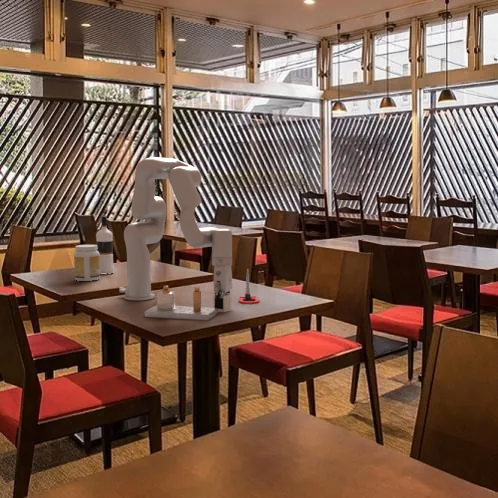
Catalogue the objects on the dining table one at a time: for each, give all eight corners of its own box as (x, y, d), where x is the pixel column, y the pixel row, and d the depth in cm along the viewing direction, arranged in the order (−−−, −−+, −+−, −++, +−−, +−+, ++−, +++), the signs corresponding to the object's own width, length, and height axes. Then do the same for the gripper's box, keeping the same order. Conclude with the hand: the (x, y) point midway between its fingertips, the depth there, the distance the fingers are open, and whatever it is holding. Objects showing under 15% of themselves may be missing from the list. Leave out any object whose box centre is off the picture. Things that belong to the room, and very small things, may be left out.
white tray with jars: (144, 316, 229) (144, 288, 227) (157, 309, 240) (156, 282, 239) (208, 320, 223) (207, 291, 222) (217, 313, 235) (217, 285, 233)
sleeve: (211, 311, 238) (211, 295, 237) (216, 307, 244) (216, 292, 244) (228, 312, 236) (228, 296, 236) (232, 308, 243) (232, 293, 242)
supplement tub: (99, 277, 316) (98, 243, 314) (101, 281, 304) (100, 246, 302) (73, 278, 312) (72, 244, 310) (75, 282, 301) (74, 247, 299)
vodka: (100, 275, 322) (99, 216, 319) (93, 273, 330) (91, 215, 326) (117, 273, 328) (116, 216, 324) (109, 271, 335) (108, 215, 332)
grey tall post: (260, 304, 252) (257, 299, 261) (261, 273, 250) (257, 268, 259) (239, 305, 251) (237, 299, 260) (239, 273, 249) (237, 269, 258)
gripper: (225, 264, 229) (225, 311, 231) (237, 258, 246) (237, 302, 248) (205, 264, 231) (206, 310, 233) (219, 258, 247) (219, 301, 249)
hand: (222, 306), depth 240 cm, fingers open, 9 cm apart
